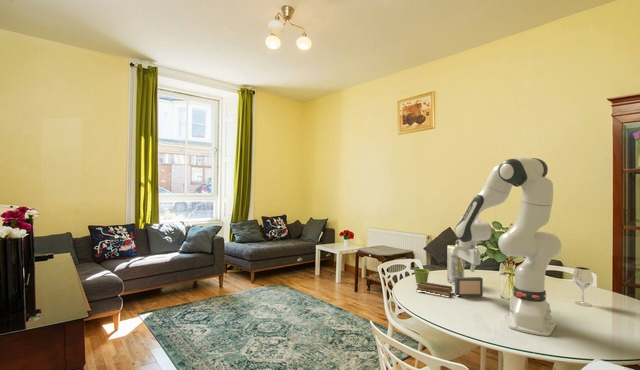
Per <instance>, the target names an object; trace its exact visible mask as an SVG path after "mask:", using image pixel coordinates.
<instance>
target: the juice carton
mask: <svg viewBox="0 0 640 370" xmlns="http://www.w3.org/2000/svg"><path fill="white" fill-rule="evenodd" d="M456 247H457V244H456V243H455V245H453V244H451V245H447V249H446V250H447V252H446V254H447V255H446V256H447V259H446V260H447V261H446V262H447V264H446V265H447V266H446V267H447V269H446V270H447V275H446V276H447V277H446V278H447V282H448V281H450V282H452V283H454V284H455V277H465V267H462V262H461V258H460V257H458V256H457V249H456ZM452 283H451V284H452ZM454 284H453V285H454Z"/></svg>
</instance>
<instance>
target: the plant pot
mask: <svg viewBox="0 0 640 370" xmlns="http://www.w3.org/2000/svg"><path fill="white" fill-rule="evenodd" d="M413 273H414V277H415V284H416V283H418V284H420V282H421V281H422V282H428V280H429V274H430V270H429V269H425V268H414V269H413Z"/></svg>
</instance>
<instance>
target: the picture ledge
mask: <svg viewBox="0 0 640 370" xmlns="http://www.w3.org/2000/svg"><path fill="white" fill-rule="evenodd" d="M417 290H421V291H426V292H430V293H435V294H440V295H445V296H449V295H450V294H451V292H452V291H453V286H452V285H445V284H439V283H434V282H428V281H427V282H422V281H421V282H420V284H418V285H417V287H416V291H417ZM451 295H452V294H451ZM451 295H450V296H451ZM450 296H449V297H450Z"/></svg>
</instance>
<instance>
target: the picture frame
mask: <svg viewBox="0 0 640 370" xmlns="http://www.w3.org/2000/svg"><path fill="white" fill-rule="evenodd" d="M483 280H484V279H483V278H482V277H480V276H478V277H477V276H474V277H472V276H470V277H469V276H468V277H467V276H464V277H455V285H454V295H455V294H456V295H459V296H484V295H483V294H484V292H483V288H484V287H483V286H484V284H483Z"/></svg>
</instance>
